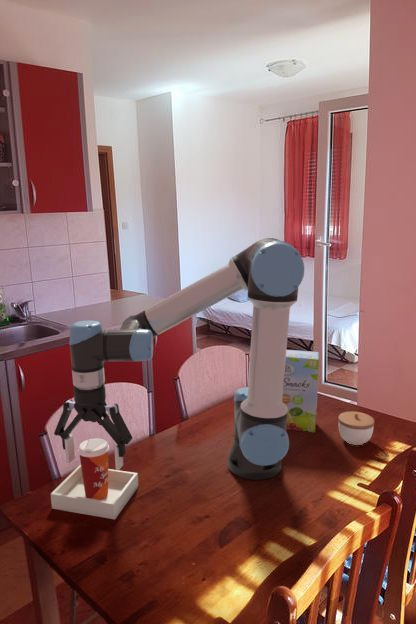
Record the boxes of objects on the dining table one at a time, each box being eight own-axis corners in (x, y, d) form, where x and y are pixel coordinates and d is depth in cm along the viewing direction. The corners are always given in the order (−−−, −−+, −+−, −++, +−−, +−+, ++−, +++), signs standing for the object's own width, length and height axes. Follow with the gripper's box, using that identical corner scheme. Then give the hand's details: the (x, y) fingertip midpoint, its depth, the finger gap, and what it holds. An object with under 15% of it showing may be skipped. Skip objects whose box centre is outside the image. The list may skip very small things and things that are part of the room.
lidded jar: (377, 449, 145) (379, 421, 143) (341, 449, 145) (343, 421, 143) (366, 433, 155) (368, 406, 153) (333, 433, 155) (335, 406, 153)
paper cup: (104, 505, 118) (101, 453, 115) (75, 501, 119) (71, 450, 116) (116, 487, 125) (114, 438, 122) (89, 484, 127) (86, 435, 124)
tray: (138, 486, 127) (137, 473, 126) (114, 519, 114) (113, 504, 113) (81, 477, 131) (80, 464, 130) (51, 508, 118) (50, 493, 117)
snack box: (249, 427, 160) (250, 354, 154) (253, 416, 168) (253, 346, 163) (316, 434, 155) (319, 358, 150) (316, 422, 164) (319, 350, 158)
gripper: (35, 385, 116) (42, 465, 120) (130, 395, 109) (134, 478, 114) (52, 375, 123) (59, 450, 127) (143, 383, 116) (146, 462, 121)
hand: (94, 464), depth 121 cm, fingers open, 13 cm apart
